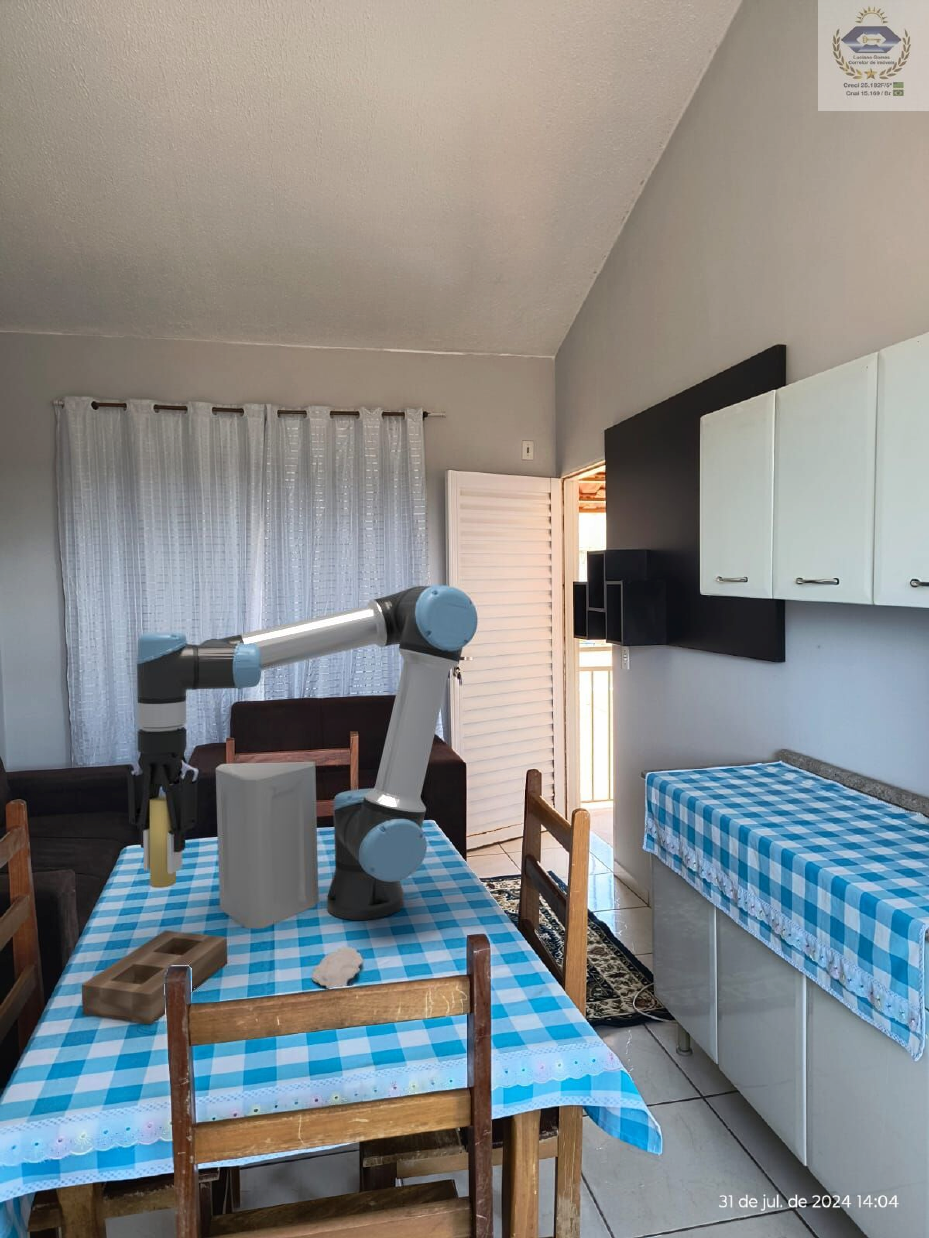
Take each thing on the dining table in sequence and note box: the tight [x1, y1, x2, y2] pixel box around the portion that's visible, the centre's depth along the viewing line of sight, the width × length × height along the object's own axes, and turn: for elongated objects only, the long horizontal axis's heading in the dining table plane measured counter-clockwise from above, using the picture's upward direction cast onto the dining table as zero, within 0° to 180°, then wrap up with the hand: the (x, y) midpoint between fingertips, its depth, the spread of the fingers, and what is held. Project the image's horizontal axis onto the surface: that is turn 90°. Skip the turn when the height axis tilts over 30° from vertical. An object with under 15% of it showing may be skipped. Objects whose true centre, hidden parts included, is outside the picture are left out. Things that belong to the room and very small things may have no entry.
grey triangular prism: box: [215, 761, 319, 930], centre depth 159 cm, size 19×15×28 cm
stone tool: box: [311, 946, 364, 989], centre depth 133 cm, size 8×3×15 cm
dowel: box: [149, 795, 177, 889], centre depth 134 cm, size 4×4×14 cm
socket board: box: [81, 930, 228, 1026], centre depth 130 cm, size 12×20×4 cm, turn 164°
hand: (162, 868), depth 134 cm, fingers closed on dowel, 4 cm apart
